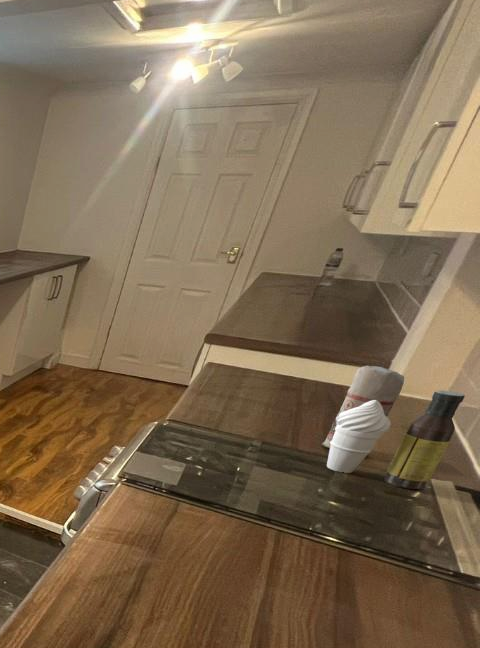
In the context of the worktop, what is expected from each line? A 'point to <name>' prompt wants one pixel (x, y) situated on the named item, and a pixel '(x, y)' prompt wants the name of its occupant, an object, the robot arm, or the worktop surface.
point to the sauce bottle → (424, 442)
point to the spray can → (370, 391)
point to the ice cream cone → (356, 435)
